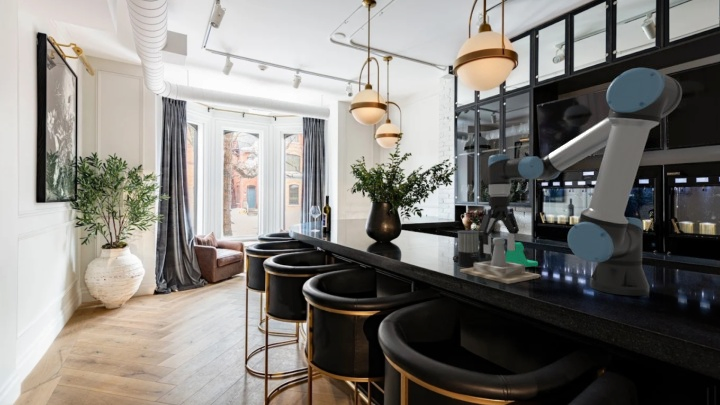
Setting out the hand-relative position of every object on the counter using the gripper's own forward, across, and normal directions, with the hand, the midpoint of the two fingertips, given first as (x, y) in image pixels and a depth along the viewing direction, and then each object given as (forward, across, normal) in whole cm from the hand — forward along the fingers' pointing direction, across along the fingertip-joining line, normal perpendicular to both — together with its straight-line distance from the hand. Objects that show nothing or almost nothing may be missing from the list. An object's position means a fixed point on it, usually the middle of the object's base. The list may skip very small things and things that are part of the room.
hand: (499, 251), depth 134 cm
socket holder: (+9, 0, 0) cm, 9 cm away
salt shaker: (+8, 0, 0) cm, 8 cm away
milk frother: (+9, -6, -23) cm, 25 cm away
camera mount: (+9, -22, -7) cm, 25 cm away
